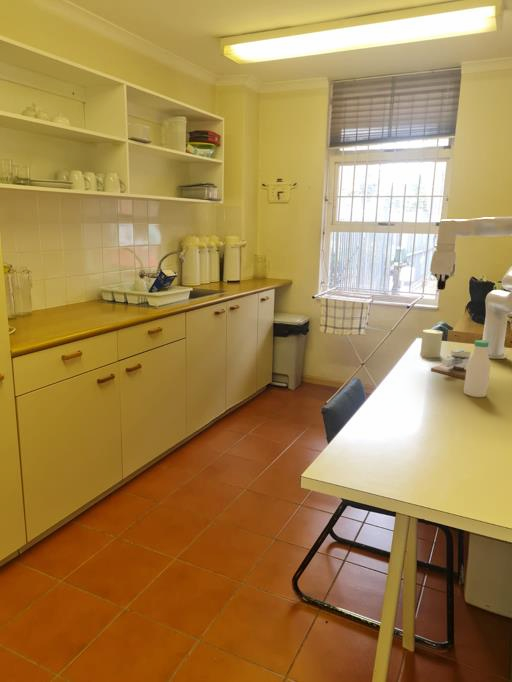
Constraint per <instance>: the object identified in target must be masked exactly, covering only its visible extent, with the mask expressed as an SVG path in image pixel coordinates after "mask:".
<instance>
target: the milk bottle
mask: <svg viewBox="0 0 512 682" xmlns="http://www.w3.org/2000/svg"><path fill="white" fill-rule="evenodd" d="M488 345H489V342H487V341H483V339H476V340H474V345H473V346H474V347H473V348H474V349H473V351H472V353H471V354H470V358H469V360H468V363H467V369H466V377H465V379H464V385H463V386H464V387H463V393H464V395H467V396H468V397H472V398H473V397H474V398H484V397H486V396H487V393H488V387H489V380H490V379H489V378H490V371H491V362H490V360H491V359H490V358H489V357H488V353H487V348H488Z"/></svg>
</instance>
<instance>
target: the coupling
mask: <svg viewBox="0 0 512 682" xmlns="http://www.w3.org/2000/svg"><path fill="white" fill-rule="evenodd" d="M450 352H451V353H450V354H447V356H446V357H447V358H443V359H442V364H441V365H442V366H445V367H449V366H457V367H461V368H464V367H467V363H468V360H469V358H470V356H471V352H470V351H468V350H464V349H452V350H451V351H450ZM454 356H455V357H454ZM458 357H461V358H458ZM462 358H463V359H462Z"/></svg>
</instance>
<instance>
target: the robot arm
mask: <svg viewBox="0 0 512 682" xmlns="http://www.w3.org/2000/svg"><path fill="white" fill-rule="evenodd" d="M472 236H473V237H477V236H478V237H483V238H484V237H485V238H486V237H491V238H492V237H509V236H512V216H491V217H488V216H487V217H479V218H467V219H466V218H464V219H463V218H462V219H459V218H458V219H441V220H439V224H438V231H437V240H436V244H435V245H434V246H433V247H434V248H435V250H433V251H434V252H433V254H432V259H431V263H430V269H429V270H430V271H429V272H430V275H431V276H433V277H435V278H436V281H437V290H442V291H443V290H445V288H446V285H447V284H446V282H447V281H448V279H449V278H454V277H455V273H456V268H457V254H456V251H455V249H456V248H455V245H456V241H457V240H456V238H457V237H458V238H459V237H460V238H468V237H472ZM500 285H501V287H502V288H503V289H502V290H501V289H494V290H493V289H492V290H491V291H490V292H488V293H487V294H486V296H485V299H484V302H485V319H484V326H483V334H482V340H483V341H487V342H489V345H488V348H487V353H488V357H489V359H492V360H493V359H494V360H501V359H502V360H504V359H506V358H507V354H505V353H504V350H506V346H505V339H506V333H507V328H508V327H507V326H508V314H512V265H511V266H510V267H509V268H508V270H507V271H506V273H505V274H504V275H503V277H502V280H501V282H500Z"/></svg>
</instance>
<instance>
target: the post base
mask: <svg viewBox="0 0 512 682" xmlns="http://www.w3.org/2000/svg"><path fill="white" fill-rule="evenodd" d="M454 357H455V356H454ZM458 358H461V357H458ZM462 359H463V358H462ZM466 369H467V367H464V368H461V367H457V366H449V367H445V366H442V364H439V365H436V366H435V365H434V366H433V367H431V368H430V371H431V372H436V373H439V374H443V375H447V376H451V377H454V378H458V379H462V380H465V377H466Z"/></svg>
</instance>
